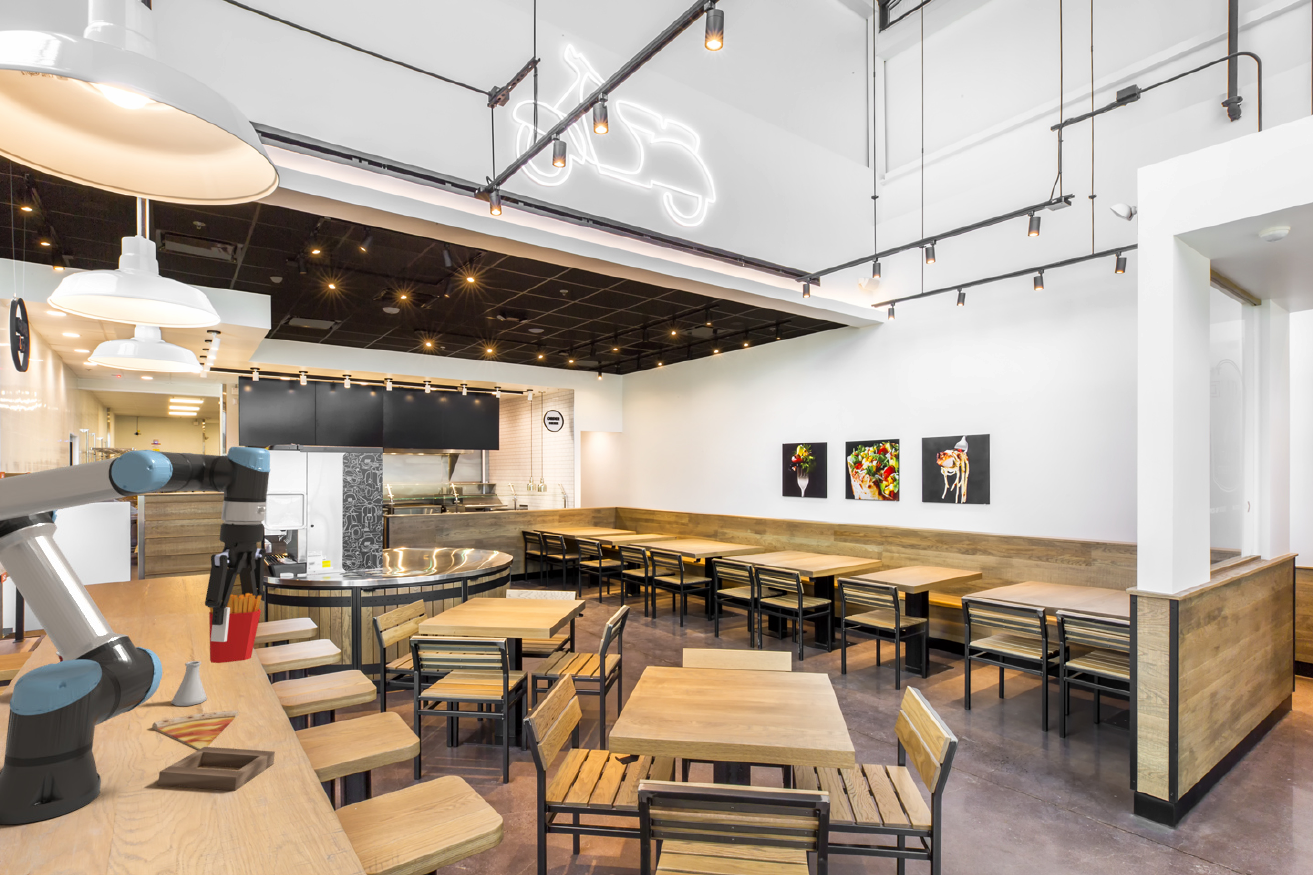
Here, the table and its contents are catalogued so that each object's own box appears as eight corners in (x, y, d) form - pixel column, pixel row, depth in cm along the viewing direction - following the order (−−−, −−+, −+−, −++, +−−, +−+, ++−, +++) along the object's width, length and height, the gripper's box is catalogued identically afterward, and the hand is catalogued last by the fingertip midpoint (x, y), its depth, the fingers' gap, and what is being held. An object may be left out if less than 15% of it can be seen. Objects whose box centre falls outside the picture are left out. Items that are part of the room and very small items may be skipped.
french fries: (253, 653, 137) (260, 590, 137) (257, 658, 133) (263, 594, 134) (200, 659, 131) (207, 593, 131) (202, 665, 127) (209, 597, 128)
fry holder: (235, 790, 124) (236, 776, 124) (158, 785, 125) (159, 771, 125) (273, 763, 136) (274, 751, 136) (203, 758, 137) (204, 746, 137)
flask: (187, 708, 164) (192, 667, 165) (164, 704, 166) (168, 664, 166) (213, 699, 171) (217, 660, 172) (190, 696, 173) (194, 657, 173)
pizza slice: (116, 758, 136) (117, 749, 136) (164, 720, 157) (165, 711, 157) (202, 754, 140) (203, 744, 140) (238, 717, 161) (239, 709, 161)
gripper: (228, 526, 124) (215, 649, 122) (289, 520, 144) (279, 627, 142) (189, 524, 124) (176, 647, 123) (255, 518, 144) (245, 625, 142)
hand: (231, 636), depth 132 cm, fingers closed on french fries, 7 cm apart
